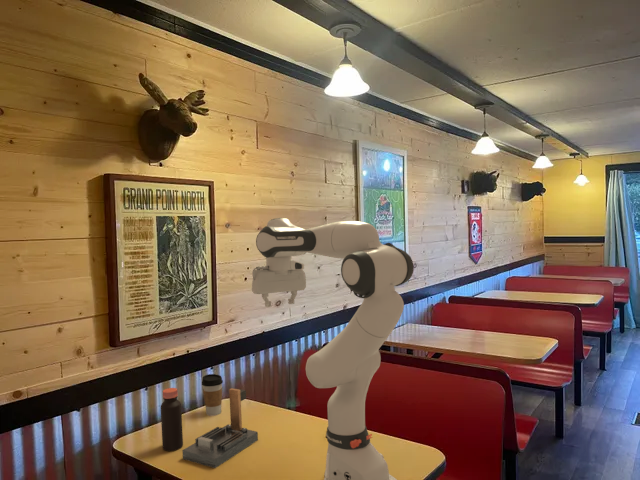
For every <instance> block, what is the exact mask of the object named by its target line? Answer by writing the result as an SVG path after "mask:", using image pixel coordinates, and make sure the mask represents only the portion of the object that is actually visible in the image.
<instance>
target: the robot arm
mask: <svg viewBox="0 0 640 480" xmlns="http://www.w3.org/2000/svg"><path fill="white" fill-rule="evenodd" d="M255 245H256V248H257V250H258V252H259V253H260V255H262V256H263V257H264V258H265V263H266V265H264V266H262V265H261V266H260V265H259V266H256V267H255V268H253V270H252V273H251V274H252V282H251V291H252V294H254V295H261V298H262V299H263V302H264V307H265V308H266V307H267V308H271V307H272V301H271V300H269V298H268V297H269V294H274V293H284V292H285V293H287V292H290V294H291V295H290V298H288V299H287V300H288V301H287V303H288V304H289V305H294V304H295V299H296V297H297V295H298V291H304V290H305V289H306V288H307V279H306V278H307V277H306V273H305V270H304V269H305V264H304V263H303V262H300V261H296V260H294V259H293V257H298V256H302V255H305V254H307V253H308V254H311V255H313V254H314V255H319V256H324V257H328V258H334V259H340V260H341V259H342V262H341V267H340V274H341V278H342V280H343V281H344V284H345V285H346V286H347V288H348V289H349V290H350V291H352V293H353V294H354V297H355V296H356V297H357V298H359V299H363V300H362V303H361V304H360V305H359V307H358V308H357V310H356V311H355V313H354V314H353V316H352V318H351V319H350V320H349V321H348V323H347V324H346V326H345V327H344V328H343V329H342V330H341V331H340V332H339V333H338V334H337V335H336V336H335V337H333V339H331V340H330V341H329V342H328V343H327V344H326V345H325V346H322V348H321V349H319V350H318V351H317V352H315V353H313V354H311V355H310V356H309V357H308V358H307V360H306V363H305V374H306V377H307V379H308V381H309V382H310V384H311V385H312V386H313V387H315V388H317V389H330V388H335V387H336V389H335V390H334V392H333V393H332V394H331V396H330V397H329V399H328V401H327V404H326V405H327V427H326V431H327V436H326V440H327V443H328V445H327V452H326V457H325V458H326V459H325V471H324V479H323V480H398V479H397V478H396V477H394V476H393V475H391V474H390V473H389V465H388V463H387V461H386V459H385V458H384V455H383V454H382V453H381V452H379V451H378V450H377V448H376V447H375V446H374V444H372V443H371V439H372V438H373V433H371V434H369V432H368V429H367V426H366V399H367V393H368V391H369V386H370V383H371V382H372V379H373V376H374V375H375V373H377V371H378V370H379V368H380V366H381V360H382V358H381V352H380V348H381V347H382V346H383V345H384V343H385V342H386V340H387V339H388V338H389V336H391V333H393V330H394V329H395V328H396V326H397V325H398V322H399V320H400V319H401V316H402V314H403V311H404V308H405V303H404V300H403V298H402V296H401V295H400V293H398V292H397V291H396V289H395V287H400V286H402V285H404V284H405V283H407V282H408V281H409V280H410V279H411V278H412V276H413V274H414V262H413V259H412V257H411V256H410V255H409V253H407V252H406V251H405V250H403V249H401V248H399V247H397V246H395V245H394V244H393V243H391V242H386V243H384V244H383V243H382V242H381V240H380V236H379V232H378V230H377V228H375V226H374V225H372V224H371V223H368V222H365V221H358V220H340V221H335V222H330V223H325V224H323V225H319V226H314V227H310V228H306V229H305V228H303V227H299V226H297V225H295V224H294V223H292V222H291V221H290V219H288V218H286V217H277V218H272V219H269V220H268V221H267V223H266V226H264V227H263V228H261V230H260V231H259V233H258V234H257V236H256V239H255Z"/></svg>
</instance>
